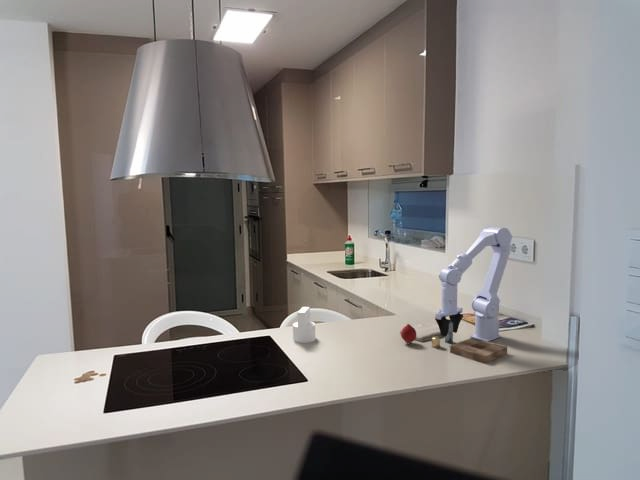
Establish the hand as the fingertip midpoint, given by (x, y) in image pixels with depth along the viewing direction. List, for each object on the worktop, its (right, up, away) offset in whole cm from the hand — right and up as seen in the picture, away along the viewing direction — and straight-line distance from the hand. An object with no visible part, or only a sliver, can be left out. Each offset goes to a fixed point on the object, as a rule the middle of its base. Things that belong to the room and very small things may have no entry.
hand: (448, 333), depth 172 cm
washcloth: (-7, -3, +10) cm, 13 cm away
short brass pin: (-6, -4, -5) cm, 9 cm away
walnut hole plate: (+7, -4, -12) cm, 14 cm away
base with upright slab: (-56, -4, +7) cm, 57 cm away
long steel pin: (0, -3, 0) cm, 3 cm away
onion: (-16, -4, -1) cm, 16 cm away
